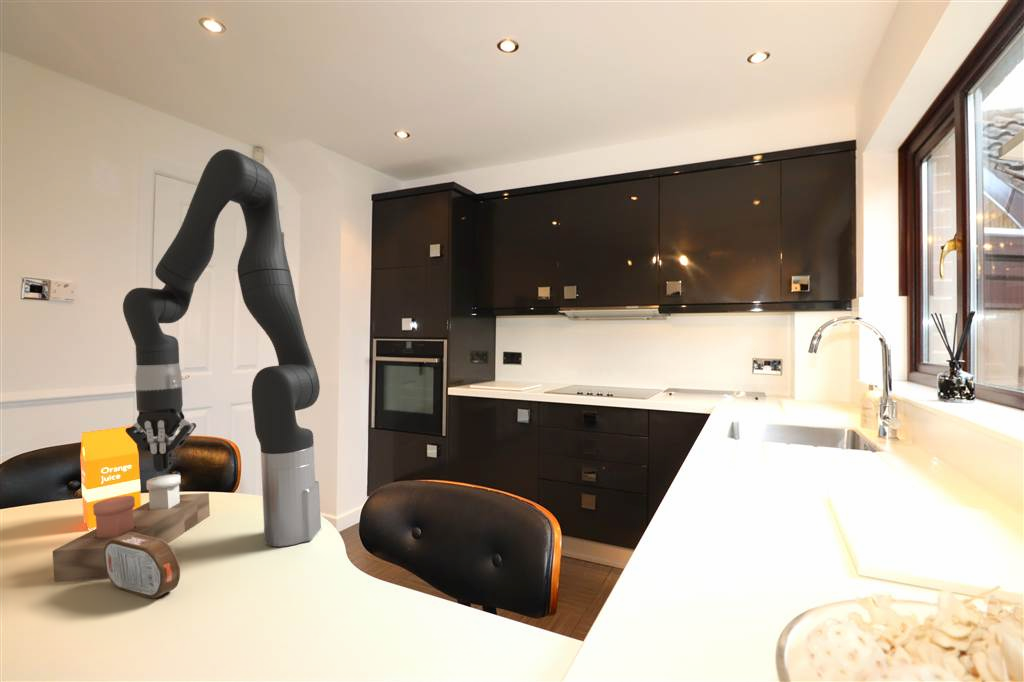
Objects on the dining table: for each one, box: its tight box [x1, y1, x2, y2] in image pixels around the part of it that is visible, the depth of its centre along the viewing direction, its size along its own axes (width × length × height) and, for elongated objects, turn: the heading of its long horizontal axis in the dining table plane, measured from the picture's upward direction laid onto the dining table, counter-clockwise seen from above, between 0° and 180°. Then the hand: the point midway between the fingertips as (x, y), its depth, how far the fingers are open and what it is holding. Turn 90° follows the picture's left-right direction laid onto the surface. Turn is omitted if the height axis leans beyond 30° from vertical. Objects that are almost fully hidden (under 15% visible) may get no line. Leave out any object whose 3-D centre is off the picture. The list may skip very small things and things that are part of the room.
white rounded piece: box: [146, 473, 182, 510], centre depth 96 cm, size 6×6×6 cm
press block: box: [52, 492, 211, 582], centre depth 90 cm, size 10×26×5 cm, turn 4°
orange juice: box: [79, 425, 142, 529], centre depth 102 cm, size 8×9×20 cm
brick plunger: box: [93, 496, 135, 538], centre depth 83 cm, size 6×6×6 cm
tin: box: [104, 532, 181, 599], centre depth 72 cm, size 15×3×8 cm, turn 67°
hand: (163, 470), depth 96 cm, fingers closed
